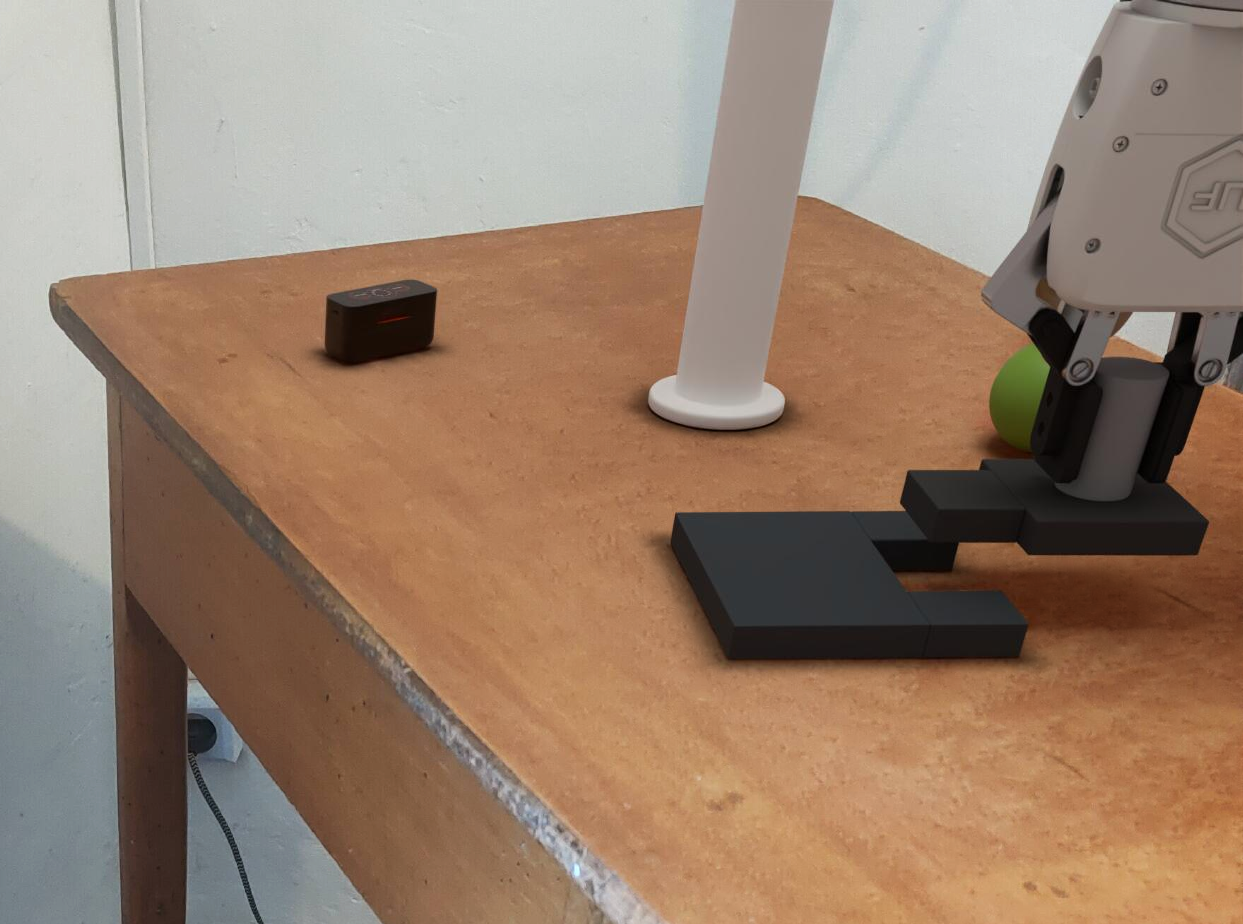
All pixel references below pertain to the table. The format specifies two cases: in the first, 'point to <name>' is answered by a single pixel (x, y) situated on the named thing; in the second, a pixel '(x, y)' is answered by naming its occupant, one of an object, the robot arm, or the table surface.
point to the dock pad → (834, 588)
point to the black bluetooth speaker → (380, 320)
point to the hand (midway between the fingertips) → (1098, 467)
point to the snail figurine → (1025, 384)
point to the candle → (747, 217)
